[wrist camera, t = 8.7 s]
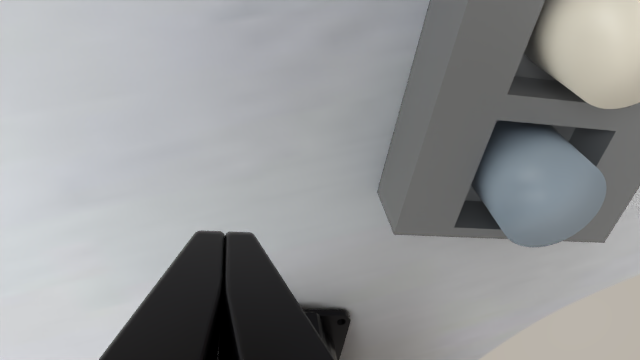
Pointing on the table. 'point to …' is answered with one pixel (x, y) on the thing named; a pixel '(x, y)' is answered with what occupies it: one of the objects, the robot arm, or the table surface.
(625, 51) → the cream button
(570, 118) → the console
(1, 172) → the table surface
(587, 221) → the blue button
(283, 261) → the table surface
